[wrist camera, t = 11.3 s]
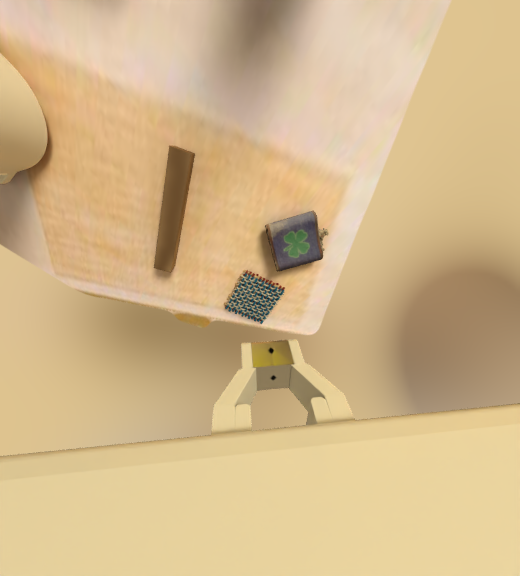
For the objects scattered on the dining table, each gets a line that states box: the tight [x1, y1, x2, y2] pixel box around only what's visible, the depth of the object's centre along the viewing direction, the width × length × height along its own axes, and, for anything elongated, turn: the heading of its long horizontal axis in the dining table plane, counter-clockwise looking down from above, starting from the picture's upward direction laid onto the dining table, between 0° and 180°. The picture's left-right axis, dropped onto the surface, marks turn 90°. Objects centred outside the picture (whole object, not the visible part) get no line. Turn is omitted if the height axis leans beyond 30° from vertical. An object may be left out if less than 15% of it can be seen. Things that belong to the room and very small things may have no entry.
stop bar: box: [154, 146, 195, 272], centre depth 38 cm, size 3×20×3 cm, turn 161°
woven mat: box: [224, 270, 285, 324], centre depth 49 cm, size 10×11×2 cm
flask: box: [265, 211, 328, 271], centre depth 41 cm, size 9×3×11 cm
